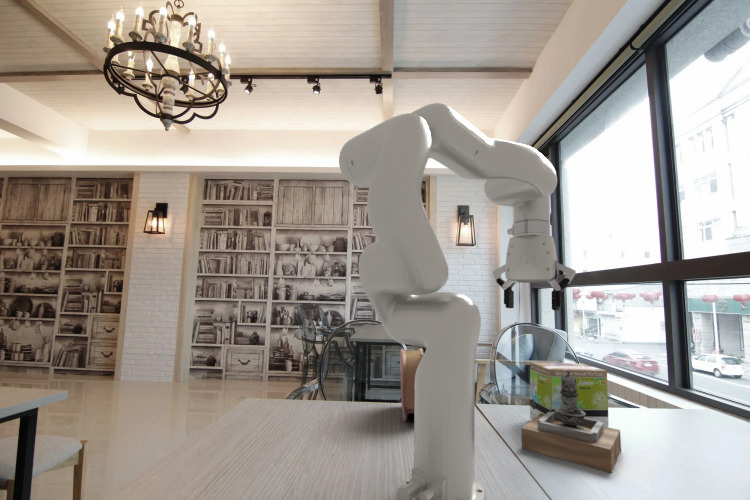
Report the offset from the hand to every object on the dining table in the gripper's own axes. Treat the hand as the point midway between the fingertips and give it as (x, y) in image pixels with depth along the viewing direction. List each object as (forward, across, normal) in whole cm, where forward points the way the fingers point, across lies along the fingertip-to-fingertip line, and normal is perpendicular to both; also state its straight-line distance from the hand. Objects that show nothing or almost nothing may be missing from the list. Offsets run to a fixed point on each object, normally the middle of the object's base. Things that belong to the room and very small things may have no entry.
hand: (531, 309), depth 80 cm
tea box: (+28, +1, +23) cm, 37 cm away
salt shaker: (+25, +6, +7) cm, 26 cm away
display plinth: (+29, +6, +7) cm, 30 cm away
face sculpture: (+29, -31, +2) cm, 43 cm away
